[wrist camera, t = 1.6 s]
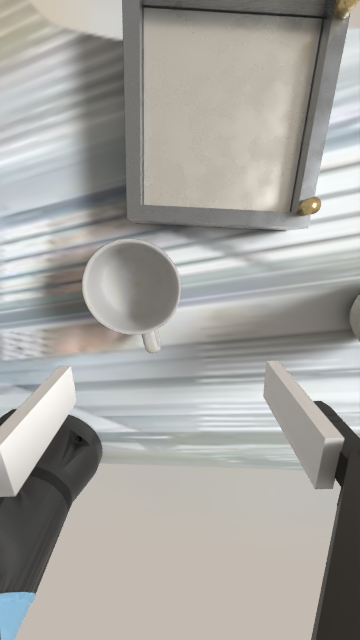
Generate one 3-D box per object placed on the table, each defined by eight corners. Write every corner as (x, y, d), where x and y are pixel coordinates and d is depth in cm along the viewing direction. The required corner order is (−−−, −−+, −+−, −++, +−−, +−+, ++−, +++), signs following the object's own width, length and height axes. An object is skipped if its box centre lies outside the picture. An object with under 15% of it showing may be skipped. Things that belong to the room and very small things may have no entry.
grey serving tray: (135, 223, 31) (123, 217, 24) (133, 19, 25) (116, -64, 18) (287, 230, 31) (316, 226, 25) (321, 31, 25) (372, -47, 19)
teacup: (97, 243, 32) (71, 242, 24) (177, 236, 32) (176, 234, 24) (113, 338, 36) (96, 363, 29) (184, 333, 36) (186, 357, 28)
